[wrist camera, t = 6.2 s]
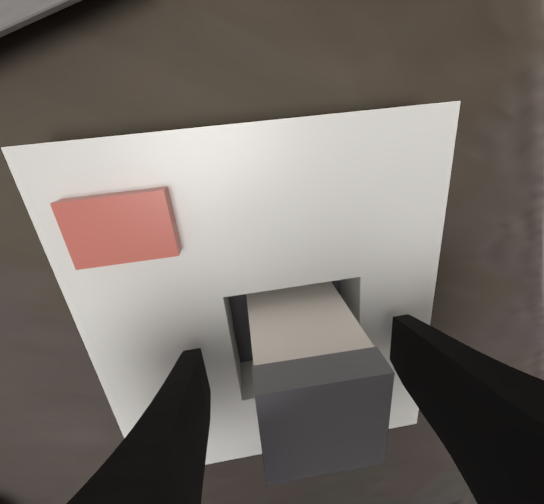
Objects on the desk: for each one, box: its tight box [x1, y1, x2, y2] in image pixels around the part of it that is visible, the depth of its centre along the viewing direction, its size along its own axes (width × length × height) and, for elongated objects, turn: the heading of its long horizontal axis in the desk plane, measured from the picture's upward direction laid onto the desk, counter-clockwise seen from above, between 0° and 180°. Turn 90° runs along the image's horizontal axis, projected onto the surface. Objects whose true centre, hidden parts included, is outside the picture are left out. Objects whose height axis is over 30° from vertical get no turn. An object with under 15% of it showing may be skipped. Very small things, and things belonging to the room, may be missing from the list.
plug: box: [246, 281, 395, 486], centre depth 11 cm, size 4×4×6 cm
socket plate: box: [1, 101, 461, 465], centre depth 12 cm, size 14×13×3 cm
